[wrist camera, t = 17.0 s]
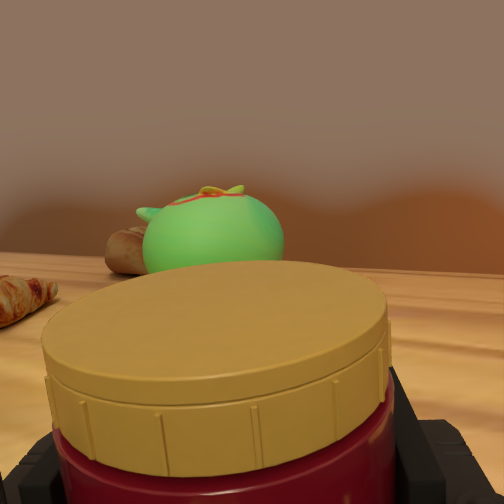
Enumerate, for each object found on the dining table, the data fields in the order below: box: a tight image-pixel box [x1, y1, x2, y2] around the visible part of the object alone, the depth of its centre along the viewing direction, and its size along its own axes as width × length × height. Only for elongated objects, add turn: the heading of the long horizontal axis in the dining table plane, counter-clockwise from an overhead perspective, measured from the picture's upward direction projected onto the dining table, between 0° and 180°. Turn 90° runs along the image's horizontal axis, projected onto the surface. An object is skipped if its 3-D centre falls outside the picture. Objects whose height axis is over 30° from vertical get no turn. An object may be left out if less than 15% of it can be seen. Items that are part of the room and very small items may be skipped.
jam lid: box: [41, 260, 392, 478], centre depth 11 cm, size 8×8×2 cm
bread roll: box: [105, 227, 149, 275], centre depth 74 cm, size 10×15×8 cm, turn 57°
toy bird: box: [136, 185, 284, 274], centre depth 58 cm, size 18×17×15 cm
